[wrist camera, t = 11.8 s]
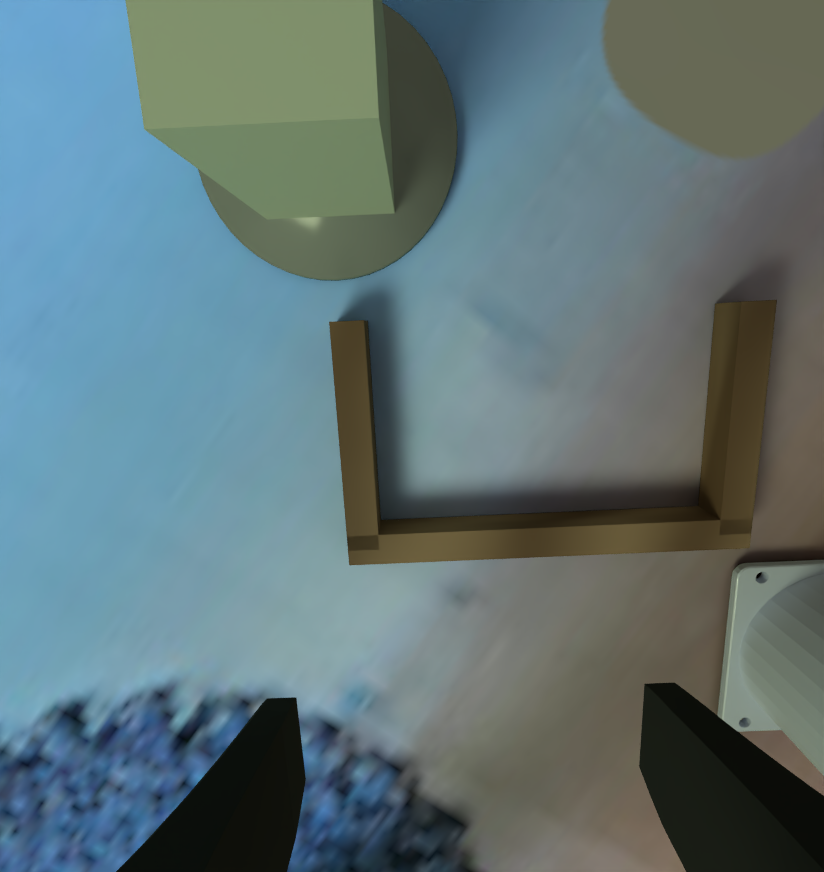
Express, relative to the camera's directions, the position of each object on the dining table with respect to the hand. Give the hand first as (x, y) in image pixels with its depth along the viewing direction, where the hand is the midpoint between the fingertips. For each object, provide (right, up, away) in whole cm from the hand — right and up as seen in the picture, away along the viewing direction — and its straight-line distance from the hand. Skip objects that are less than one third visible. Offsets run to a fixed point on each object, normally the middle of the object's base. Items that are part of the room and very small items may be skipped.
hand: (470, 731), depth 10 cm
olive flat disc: (-4, +16, +7) cm, 18 cm away
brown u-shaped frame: (+4, +6, +9) cm, 12 cm away
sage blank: (-4, +16, +7) cm, 18 cm away
